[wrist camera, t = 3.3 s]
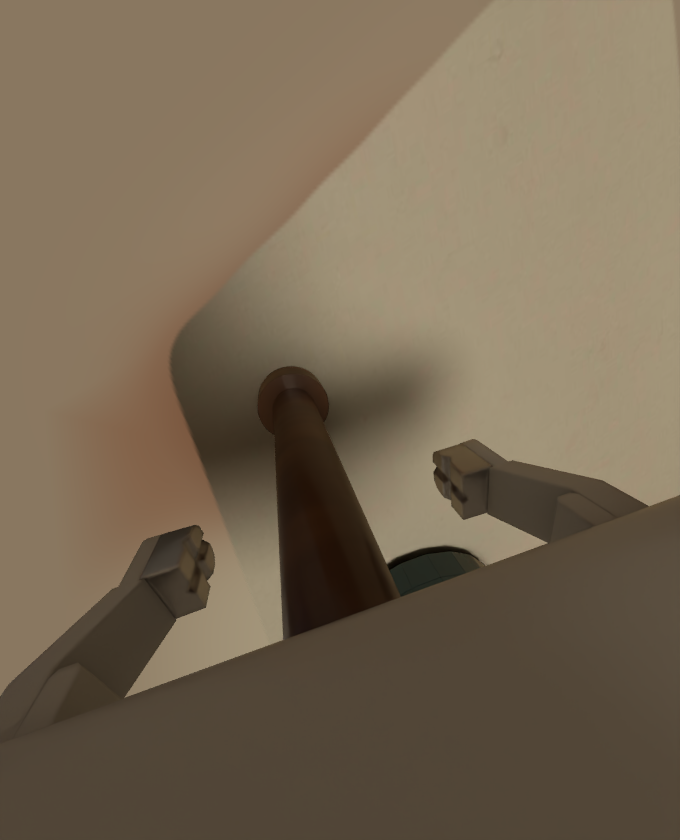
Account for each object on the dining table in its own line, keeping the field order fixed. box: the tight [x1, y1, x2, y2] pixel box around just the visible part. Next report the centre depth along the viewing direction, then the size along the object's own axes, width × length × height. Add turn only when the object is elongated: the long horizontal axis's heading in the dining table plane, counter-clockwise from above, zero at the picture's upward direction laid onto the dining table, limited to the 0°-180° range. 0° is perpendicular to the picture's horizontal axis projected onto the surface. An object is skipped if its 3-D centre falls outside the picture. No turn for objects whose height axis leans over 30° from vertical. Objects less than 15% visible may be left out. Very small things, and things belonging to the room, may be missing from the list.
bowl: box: [389, 551, 485, 597], centre depth 30 cm, size 18×18×6 cm
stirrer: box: [258, 366, 401, 640], centre depth 12 cm, size 4×4×16 cm
